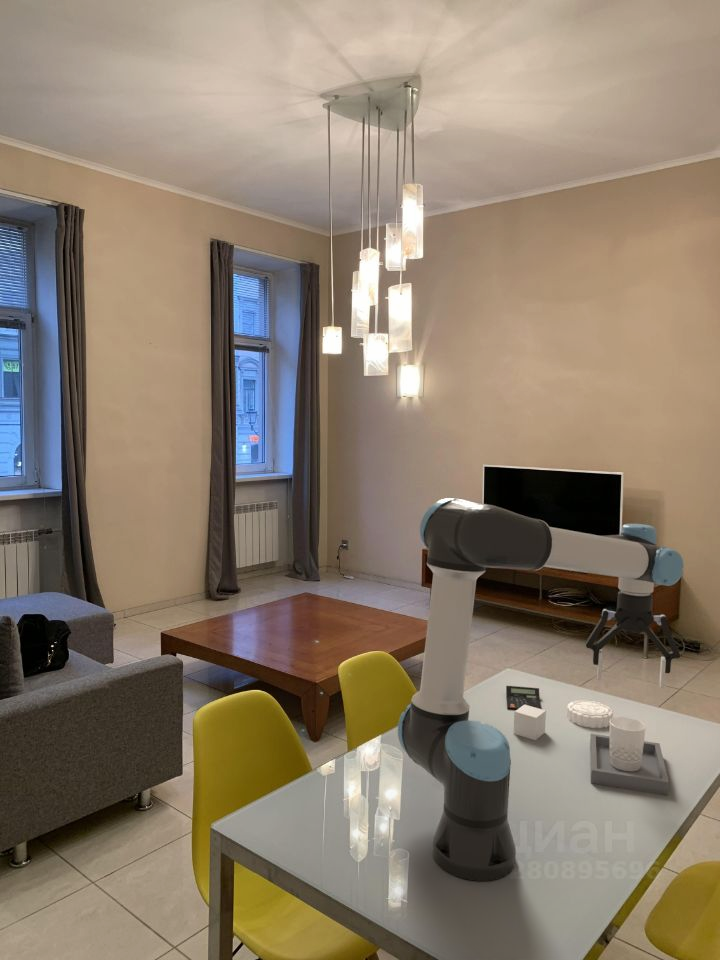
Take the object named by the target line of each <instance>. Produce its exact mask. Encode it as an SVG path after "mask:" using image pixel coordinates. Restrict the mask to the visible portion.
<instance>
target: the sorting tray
mask: <svg viewBox="0 0 720 960" xmlns="http://www.w3.org/2000/svg"><path fill="white" fill-rule="evenodd" d="M589 736H590V739H589V758H590V761H589V763H590V764H589V765H590V767H589V769H590V784H594V785H595V784H597V785H602V786H607V787H613V788H614V787H615V788H620V789H626V790H632V791H638V792H643V793H651V794H656V793H657V795H662V794H664V795H663V796H668V795H669V785H670V784H669V777H668V773H667V768H666V764H665V760H664V757H663V752H662V748H661V744H660V743H658V742H652V741H646V740H644V746H643V754H642V758H641V767H640V769H639V770H638V771H633V772H630V771H623V770H619V769H617V768H615V767H613V766H612V765H611V764H610V746H609V735H603V734H598V733H597V734H596V733H590V735H589Z"/></svg>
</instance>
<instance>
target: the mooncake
mask: <svg viewBox="0 0 720 960" xmlns="http://www.w3.org/2000/svg"><path fill="white" fill-rule="evenodd" d="M566 706H567V707H566V718H567V719H568V721H570V722H572V723H573V724H576V725H578V726H582V727H584V728H591V729H595V728H596V729H602V728H604V727H605V728H608V727H609V721H610V719H612V718H614V713H613V712H614V711H613V710H612V709H611V707H609V706H608V705H606V704H602V703H601V702H598V701H593V700H582V699H581V700H579V699H578V700H573V701H571V702H569V703H568V704H567V705H566Z"/></svg>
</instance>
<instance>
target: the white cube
mask: <svg viewBox="0 0 720 960" xmlns="http://www.w3.org/2000/svg"><path fill="white" fill-rule="evenodd" d="M513 715H514V718H513V734H514V735H517V736H519V737H522V738H526V739H529V740H534V741H536V740H537V739H539V738H541V736H543V735H544V734H545V733H546V718H547V716H546V715H547V710H545V709H539V708H535V707H531V706H528V705H523V706H522V707H520V708H519V709H517V710H514V714H513Z"/></svg>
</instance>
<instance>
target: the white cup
mask: <svg viewBox="0 0 720 960" xmlns="http://www.w3.org/2000/svg"><path fill="white" fill-rule="evenodd" d="M608 727H609V733H608V734H609V735H608V736H609V746H610V764H611V765H612V766H613V767H615V768H617V769H619V770H623V771H630V772H633V771H638V770H639V769H640V767H641V758H642V754H643V746H644V741H645V736H646V724H645V723H643V722H642V721H640V720H639V719H636V718H632V717H628V716H615V717H614V716H613V718H612V719H610V721H609V726H608Z"/></svg>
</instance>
